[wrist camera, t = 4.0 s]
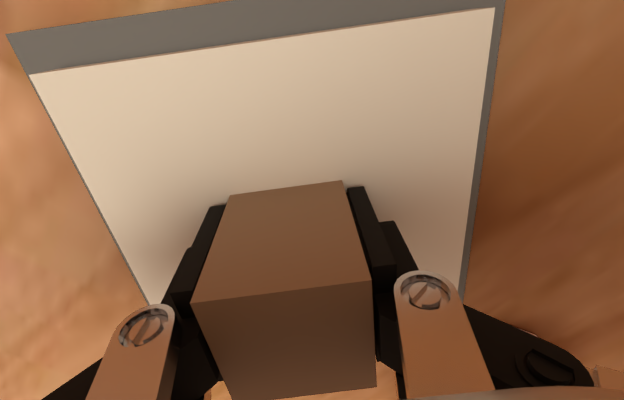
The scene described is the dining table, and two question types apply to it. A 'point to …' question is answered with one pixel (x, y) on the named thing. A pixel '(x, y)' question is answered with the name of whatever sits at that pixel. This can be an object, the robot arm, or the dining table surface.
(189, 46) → the grey flat square slab
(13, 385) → the dining table surface
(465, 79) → the lid
